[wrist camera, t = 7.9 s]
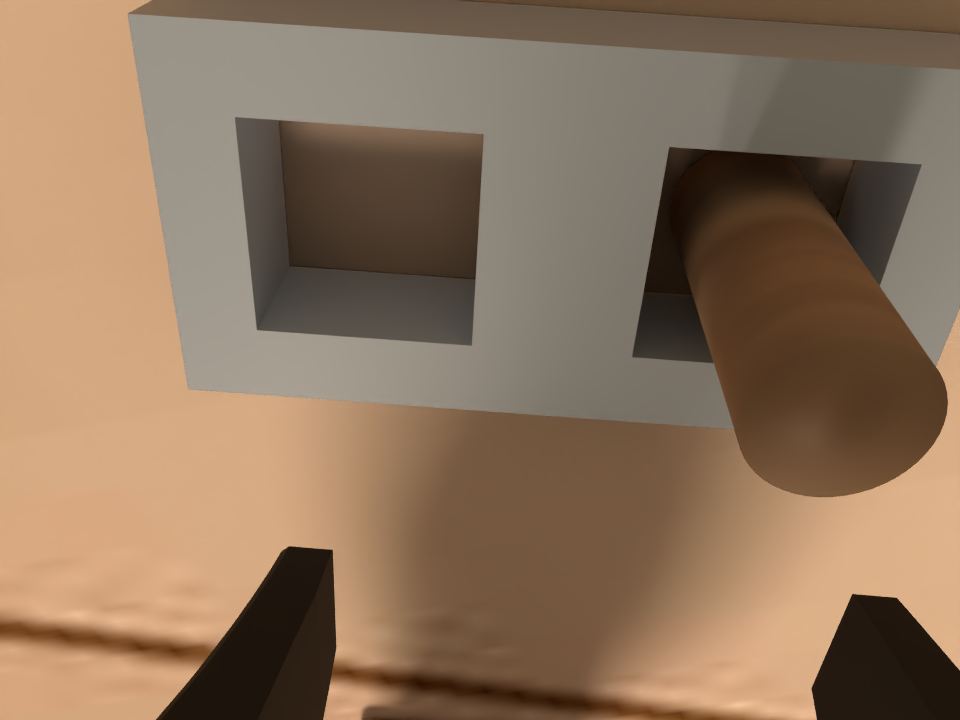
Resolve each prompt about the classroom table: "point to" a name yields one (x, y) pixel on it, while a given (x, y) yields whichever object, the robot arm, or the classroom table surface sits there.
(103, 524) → the classroom table surface
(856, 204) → the hole block
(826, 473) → the peg
